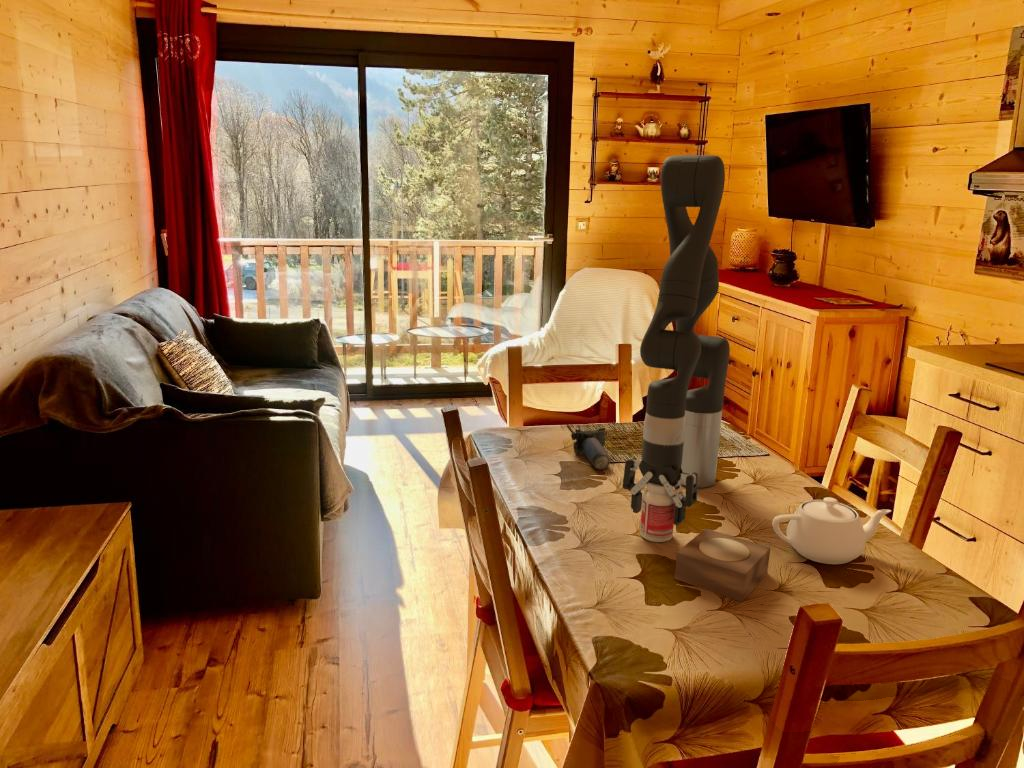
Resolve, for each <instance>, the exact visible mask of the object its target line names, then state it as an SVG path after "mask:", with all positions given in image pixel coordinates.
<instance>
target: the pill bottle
mask: <svg viewBox="0 0 1024 768" xmlns="http://www.w3.org/2000/svg"><path fill="white" fill-rule="evenodd" d="M646 488H647V490H646V491H644V492H643V494H642V507H641V514H640V529H639V531H640V533H639V534H640V536H641V537H642V538H644V540H647V541H650V542H652V543H664V542H668V541H670V540H671V539H672V538H673V535H674V513H675V506H676V504H675V502H674V500H673V498H672V497H670V496H669V494H668V492H667V490H666V489H665V487H664V486H661V485H657V484H653V483H649V482H648V484H647V485H646Z"/></svg>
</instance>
